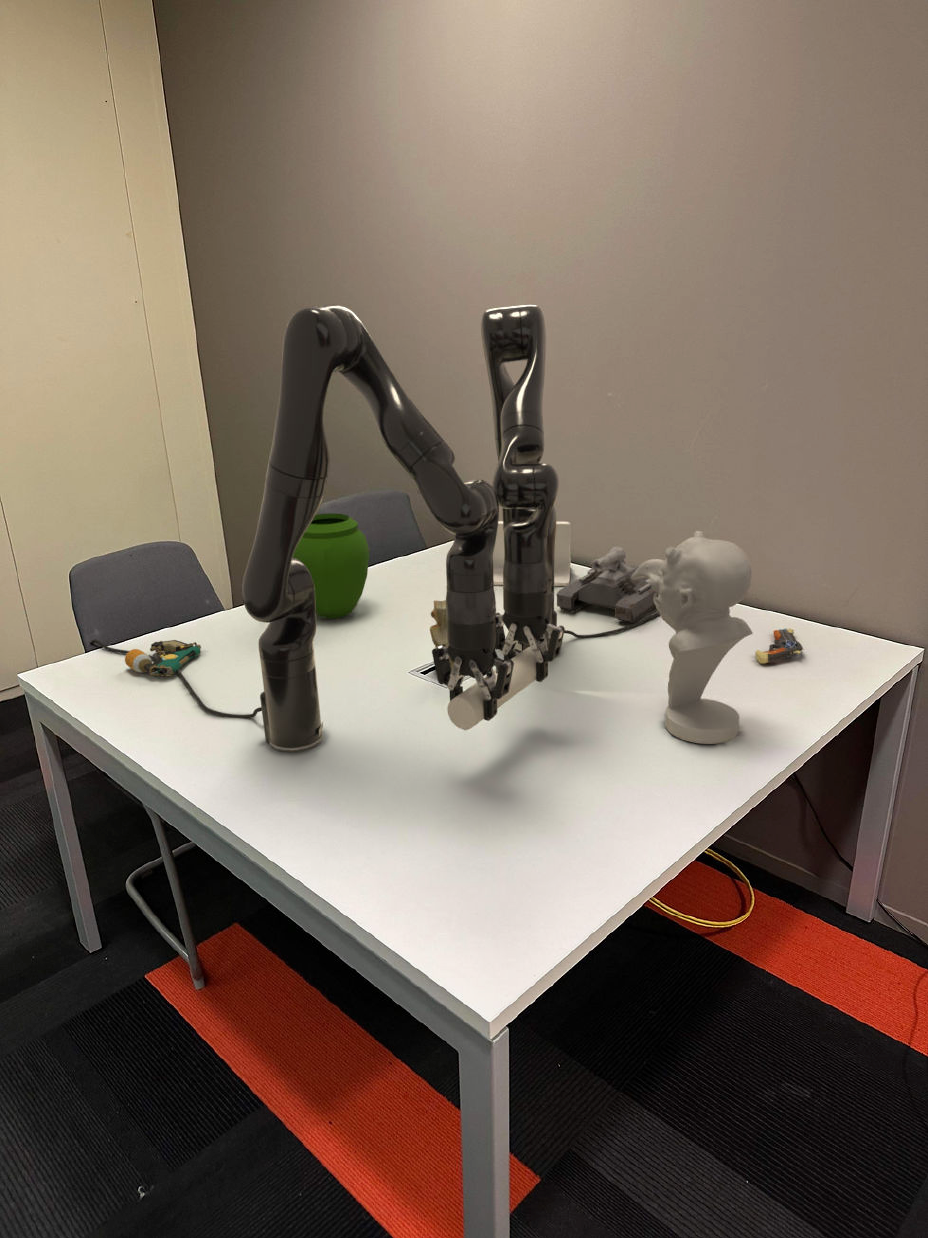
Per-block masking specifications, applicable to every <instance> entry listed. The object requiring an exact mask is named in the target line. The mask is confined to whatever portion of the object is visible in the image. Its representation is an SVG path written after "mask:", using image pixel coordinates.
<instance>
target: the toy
mask: <svg viewBox="0 0 928 1238" xmlns="http://www.w3.org/2000/svg"><path fill="white" fill-rule="evenodd" d="M626 557H627V556H626V551H625V549H624V548H622V547H621V546H614V547H612V548H611V549H610V550H609V552H608V553H607V554H605V555H604V556H601V557H599V558H598V559H597V557H596V558H594V559H593V560H592V561H590V562H589V563H590V564H591V565H592V567H591V568H590V569H589V570H587V573H586V575H584V576H582V577H580V578H578V579H577V580H575V581H573V582H570V583H569V585H567V586H563V587H562V588H560V589H559V590H558V591H557V592H556V607H558V608H559V609H560V610H562V611H566V612H572V613H575V612H577V611H579V610H581V609H582V608H585V607H586V606H588V605H592V606H598V607H602V608H603V607H604V608H609V609H613V610H614V618H615V619H617V620H618V621H621V622H626V623H630V624H633V623H636V622H637V621H638V620H640V619H641V618H642V617H644V616H645V615H647V614H648V613H650V612H651V611H652V610H654V609H655V608H656V605H655V604H654V600H653V597H654V594H655V593H656V592H655V591H654V590H653V589H652V587H651V583H650V579H649V578H647V577H644V578H640V579H635V580H634V579H632V578H631V576H632V575H633V574H634V573H635V571H636V570H637V569H638V568H639V566H635V565H629V564H628V563H627V562H626V561H625V559H626Z"/></svg>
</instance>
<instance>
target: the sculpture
mask: <svg viewBox="0 0 928 1238" xmlns="http://www.w3.org/2000/svg"><path fill="white" fill-rule="evenodd" d="M430 617H431V618H432V619H433V620H434V621H435V622H436V623H435V624H433V625H431V626H429V633H430V636H431V640H432V641H431V642H432V643H433V645H434V648H436V647H438V646H440V645H441V644H445V645H446V646H449V644H448V642H447V623H446V599H445V600H433V610H431V612H430ZM432 660H433V661H434V659H433V658H432ZM449 660H450V665H451V670H452V668H453V665H454V664H453V662H452V660H451V659H450V657H449ZM433 665H434V666H435V664H434V663H433ZM444 674H445V673H444Z"/></svg>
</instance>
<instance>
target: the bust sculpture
mask: <svg viewBox="0 0 928 1238" xmlns="http://www.w3.org/2000/svg"><path fill="white" fill-rule="evenodd" d="M664 554H665V559H660V558H653V559H648V560H645V561H644V562H642V563H641V564H640V565H639V566H638V567H639V568H638V569H637V570H636V571H635V573H634V574H633V575H632V576H631V578H632V579H634V580H635V579H640V578H644V577H647V578H649V579H650V583H651V587H652V589H653V590H654V591H655V592H656V593H655V594H654V597H653V600H654V604H655V605H656V607H655V608H656V611H657V612H659V615H660V618H661V619H662V620H663V622H665V623H666V624H667V625H668V626H669V627H670V628H671V629H672V630H673V631H675V634H673V635H672V636H671V638H669V641H668V649H669V653H670V654H671V657H672V658H673V660H672V663H671V666H670V669H669V673H668V682H667V694H668V696H667V697H668V700H667V705H668V706H666V708H665V718H664V726H665V728H666V730H667V731H668V732H669V733H670V734H671V735H673V736H675V737H676V738H679V739H680V740H683V741H687V742H691V743H696V744H703V745H713V744H721V743H726V742H729V741H731V740H733V739H734V738H736V736H738V733H739V729H740V728H739V727H740V715H739V714H740V713H738V711H737V710H736V709H735V708H734V707H732V706H730V705H728V704H727V703H724V702H721V701H719V700H714V699H709V698H702V696H703V695H704V694H703V693H704V692H705V690H706V687H707V685H708V684H709V681H710V680H711V678H712V676H713V674H714V673H715V671H716V670H717V668H718V667H719V665H720V664H721V662H722V661H723V660H724V658H725V656H726V655H727V654H728V653H729V652H730V651H731V650H732V649H733V648H734V647H735V646H736V645H738V643H739V642H741V641H742V640H743V639H745V638H747V637H749V636H751V635H753V634H754V632H753V630H752V629H751V628H750V626H749V624H748V623H747V622H746V621H745V620H744V619H743V618H740V617H737V616H731V614H730V613H731V610H730V608H732V607H734V606H736V605H737V604H739V603H740V602H741V601H742V600H744V599H745V597H746V595H747V594H748V592H749V590H750V586H751V583H752V574H753V573H752V572H753V571H752V565H751V561H750V559H749V557H748V555H747V554H746V552H745V551H744V550H743V549H742V548H741V547H740V546H739V545H737V544H736V543H734V542H731V541H728V540H723V539H711V538H707V536H706V534H705V532H703V530H696V531H694V533H693V536H691V537H689V538H687V539H684V541H682V542H681V543H679V544H678V545H677V546H675V547H674V546H669V547H667V548H666V551H665V553H664Z"/></svg>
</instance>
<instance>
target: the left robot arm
mask: <svg viewBox="0 0 928 1238" xmlns="http://www.w3.org/2000/svg"><path fill="white" fill-rule="evenodd" d="M285 327H286V328H285V330H284V335H283V341H282V351H281V371H280V386H279V398H278V405H277V409H276V410H277V412H276V417H275V423H274V431H273V437H272V443H271V449H270V452H269V455H268V461H267V463H268V464H267V467H266V468H267V469H266V474H265V480H264V482H265V483H264V487H263V488H264V489H263V495H262V501H261V505H260V511H259V516H258V521H257V527H256V532H255V537H254V540H253V544H252V548H251V551H250V554H249V557H248V561H247V565H246V568H245V571H244V574H243V579H242V583H241V597H242V603H243V606H244V608H245V610H246V612H247V614H248V615H249V616H250V617H251V618H252V619H253V620H255V621H256V622H259V623H268V624H267V627H266V629H265V630H264V631H263V632H262V634H261V635H260V636H259V639H258V653H259V661H260V667H261V669H260V671H261V677H262V684H263V685H262V686H263V692H261V693H260V695H259V699H260V706H259V707H257V708H255V709H254V710H253V712H252V713H250V714H249V713H248V714H235V713H234V714H233V713H227V712H222V711H218V710H214V709H212V708H209V707H208V706H206V705H205V704H204V702H203V701H202V699H201V698H200V697H199V695H198V694H197V693H196V692H195V691H194V688H193V687H192V686H191V684H190V683H189V682H188V680H187V679H186V677H185V676H184V675H183V673H181V671H180V670H179V669H178V670H177V671H175V672H174V673H175V674H176V675H177V676H178V677H179V678H180V680H181V681H182V682H183V684H184V685H185V687H186V688H187V690H188V691H189V692H190V694H191V695H192V697H193V698H194V699H195V700H196V702H197V703H198V705H199V706H200V708H201V709H202V710H204V711H205V712H207V713H210V714H212V715H216V716H219V717H223V718H232V719H252V718H255V717H256V716H257V714H258V713H260V712H261V716H262V723H263V731H264V732H263V733H264V739H265V743H267V744H269V745H270V747H271V748H273V749H275V750H276V751H280V752H284V753H285V752H286V753H296V752H302V751H307V750H309V749H312V748H314V747H316V746H317V745H319V744H320V743H321V742H322V741H323V739H324V733H323V732H324V731H323V728H324V721H322V719H321V709H320V696H319V686H318V677H317V669H316V658H315V657H316V656H315V647H314V640H315V637H316V634H317V614H316V602H315V589H314V583H313V579H312V577H311V574H310V572H309V570H308V569H307V567H306V566H305V565H304V564H303V563H302V562H301V561H300V560H298V559H296V558H293V555H294V552H295V549H296V547H297V545H298V543H299V541H300V540H301V538H302V536H303V535H304V533H305V532H306V530H307V528H308V527H309V525H310V523H311V522H312V520H313V518H314V517H315V515H317V513H318V511H319V510H320V507H321V506H322V503H323V499H324V497H325V493H326V487H327V483H328V478H329V473H330V469H331V468H330V467H331V449H330V444H329V441H328V435H327V432H326V428H325V424H324V410H325V403H326V399H327V394H328V389H329V385H330V382H331V378H332V376H333V374H334V373H337V372H338V373H339V374H341V375H342V376H343V377H344V378H345V379H346V380H347V381H348V382H349V383H350V384H351V385H352V386H353V387H354V388H355V389H356V390H357V391H358V392H359V394H360V395H361V396H362V398H363V399H364V401H365V403H366V404H367V406H368V408H369V411H370V413H371V415H372V418H373V420H374V423H375V426H376V427H377V431H378V434H379V435H380V438H381V439H382V441H383V443H384V445H385V446H386V448H387V449H388V451H389V452H390V453H391V454H392V456H393V457H394V458H395V459H396V461H397V462H398V464H399V465H400V466H401V467H402V468H403V469H404V470H405V472H406V473H407V474H408V475H409V476H410V478H412V479H413V481H414V482H415V483H416V485H417V488H418V490H419V492H420V494H421V496H422V498H423V500H424V502H425V504H426V505H427V507H428V509H429V511H430V513H431V515H432V517H434V518H433V519H435V520H436V522H437V523H438V524H439V525H440V526H441V527H442V528H443V529H444V530H446V531H447V532H448V533H450V534H452V535H454V538H453V539H454V540H453V543H452V545H451V547H450V548H449V550H448V552H447V553H446V557H445V558H446V559H445V574H446V578H445V579H446V593H445V600H446V623H447V642H448V644H449V646H446V645H445V644H441V645H440V646H438V647H436V648H435V647H434V648H433V649H432V650H431V654H432V660H433V659H434V660H433V665H434V664H435V665H434V669H435V672H436V673H435V674H436V678H437V682H438V683H439V684H440V685H445V686H446V687H447V689H448V690H449V702H450V701H451V700H452V699H454V698H455V697H456V696H458V695H459V694H461V693H462V692H464V686H462V684H463V682H464V679H465V677H470V678H472V679H475V683H477V684H478V686H479V687H481V689H482V692H483V695H484V697H485V699H483V707H484V719H483V720H484V721H488V722H489V721H491V720H492V719H493V718H494V717H495V716H496V715H497V714H498V708H497V699H500V698H501V697H502V696H504V695H505V694H507V693H508V692H509V688H510V682H511V677H512V672H513V667H514V662H513V661H512V660H507V661H505V660H504V658H500V657H499V656H498V653H497V651H496V649H495V643H496V613H497V609H496V608H497V604H496V603H497V602H496V594H495V588H494V587H495V585H493V584H494V578H493V551H494V546H495V541H496V535H497V528H498V521H500V520H499V519H500V518H499V517H500V506H499V503H498V498H497V495H496V493H495V491H494V489H493V488H492V484H490V483H488V482H487V481H485V480H484V479H480V478H471V479H467V480H464V481H463V480H462V479H461V477H460V476H459V475H460V474H458V472H457V470H456V469H455V467H454V463H455V460H456V458H455V457H456V455H455V453H454V452H453V450H452V449H451V447H450V446H449V444H448V443H447V442H446V441H445V439H443V437H442V436H441V435H440V434H439V432H438V431H437V430H436V429H435V427H434V426H433V425H432V424H431V423H430V422H429V420H428V419H427V418H426V417H425V416H424V414H423V413H422V412H421V411H420V409H419V408H418V407H417V406H416V404H415V403H414V402H413V400H412V399H411V398H410V397H409V395H408V393H407V392H406V390H405V389H404V388H403V386H402V384H401V383H400V382H399V381H398V378H397V377H396V375H395V374H394V372H393V371H392V369H391V367H390V366H389V365H388V363H387V361H386V360H385V358H384V357H383V354H382V353H381V352H380V350H379V348H378V346H377V345H376V343H375V342H374V340H373V338H372V336H371V335H370V333H369V331H368V330H367V328H366V327H365V325H364V324H363V322H362V321H361V319H360V318H359V317H358V315H357V314H355V312H353V311H352V310H351V309H350V308H348V307H346V306H343V305H338V304H325V305H312V306H307V307H302V308H300V309H299V310H297V311H295V312H294V314H293V315H292V316H290V319H289V320H288V322H287V324H286V326H285ZM94 643H96V644H98V645H99V646H100V647H102V648H103V649H105V650H108V651H110V652H112V653H113V652H114V653H119V654H125V655H126V654H127V653H128V652H129V651H130V650H125V649H119V648H113V647H109V646H108V645H107V644H104V642H102V641H100V640H98V639H97V638H95V639H92V640H91V641H90V642H89V645H94ZM147 655H148V656H149V657H150V658H151V660H152V661H154V659H155V658H156V657H157V656H156V657H155V656H153V655H150V654H147ZM449 657H450V659H451V660H452V662H453V664H454V665H453V668H452V670H451V665H450V660H449ZM493 667H495V669H494V668H493ZM494 670H496V673H497V674H498V675H497V681H495V679H496V676H495V673H494ZM444 673H445V674H444ZM484 677H486V678H484Z"/></svg>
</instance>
